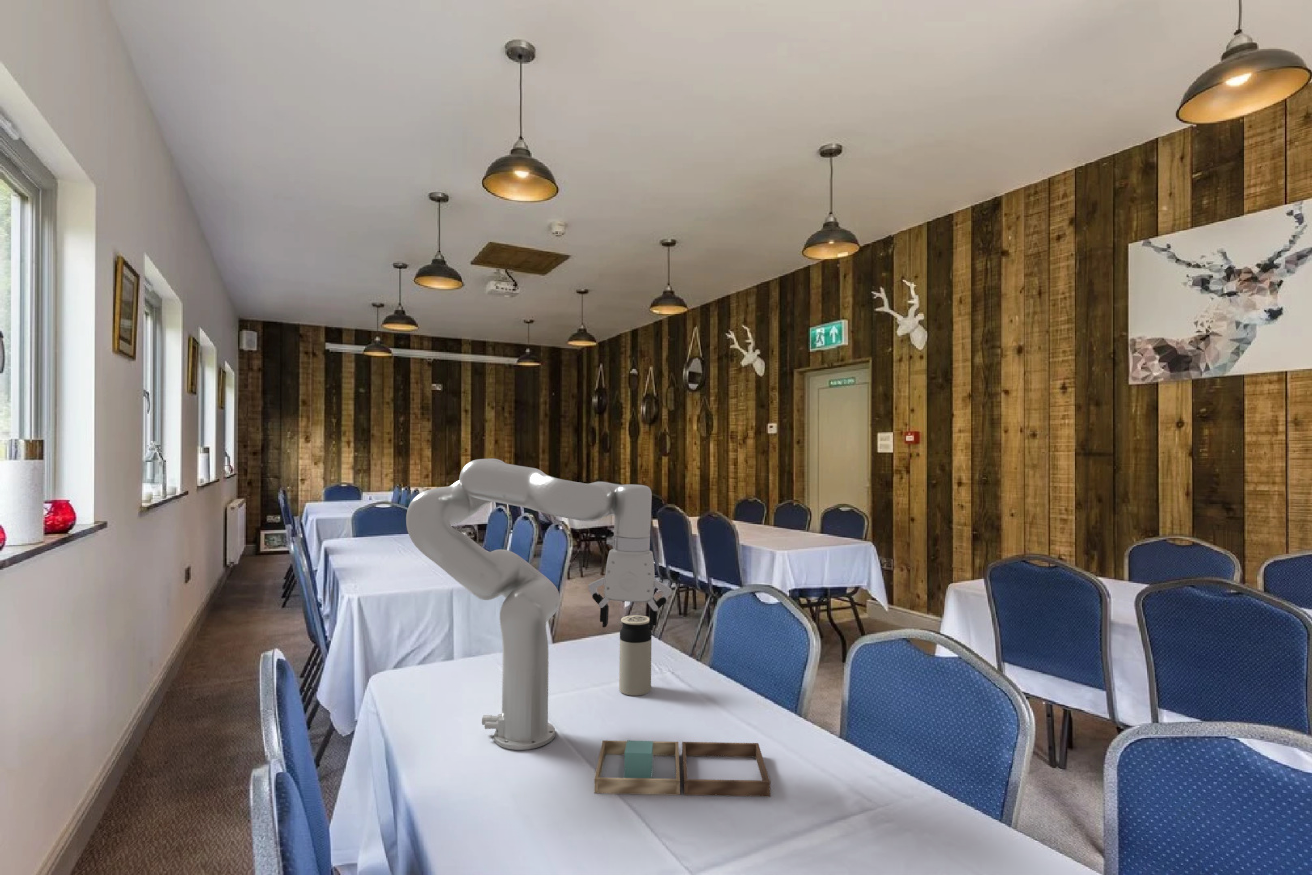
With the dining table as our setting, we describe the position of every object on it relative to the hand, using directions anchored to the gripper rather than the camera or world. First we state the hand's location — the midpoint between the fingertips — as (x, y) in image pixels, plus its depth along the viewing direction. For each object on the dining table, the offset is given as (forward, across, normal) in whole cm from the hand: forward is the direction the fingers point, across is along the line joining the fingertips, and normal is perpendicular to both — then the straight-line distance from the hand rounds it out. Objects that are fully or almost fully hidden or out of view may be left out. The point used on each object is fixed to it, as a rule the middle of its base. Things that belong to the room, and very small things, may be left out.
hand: (628, 627), depth 136 cm
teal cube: (+24, +4, -11) cm, 27 cm away
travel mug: (+24, -1, +29) cm, 38 cm away
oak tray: (+24, +4, -11) cm, 27 cm away
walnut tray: (+24, +20, -10) cm, 33 cm away
